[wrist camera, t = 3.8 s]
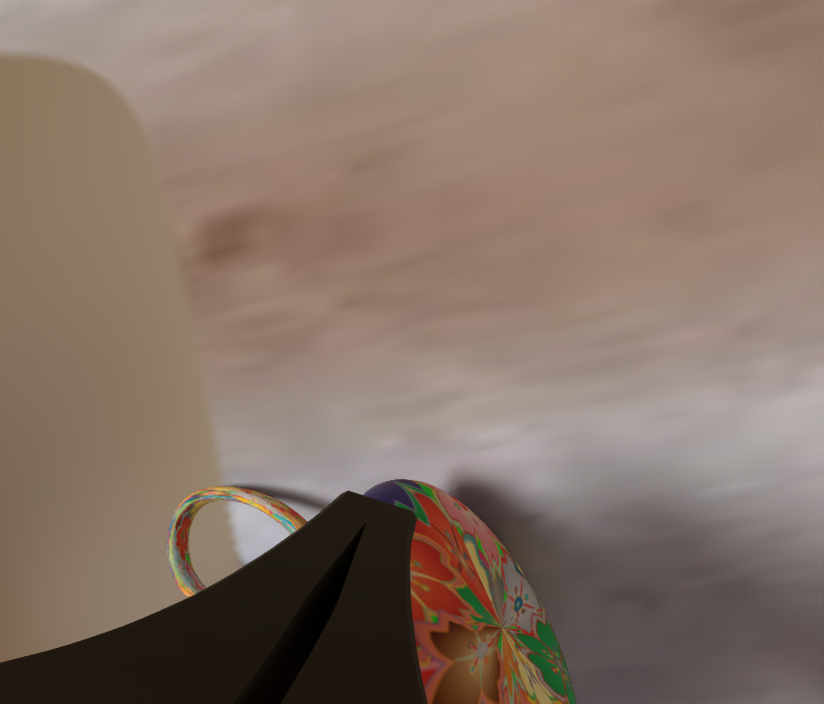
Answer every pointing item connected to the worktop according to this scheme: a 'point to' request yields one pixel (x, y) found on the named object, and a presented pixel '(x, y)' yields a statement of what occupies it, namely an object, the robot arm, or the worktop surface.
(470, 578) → the mug
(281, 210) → the worktop surface
